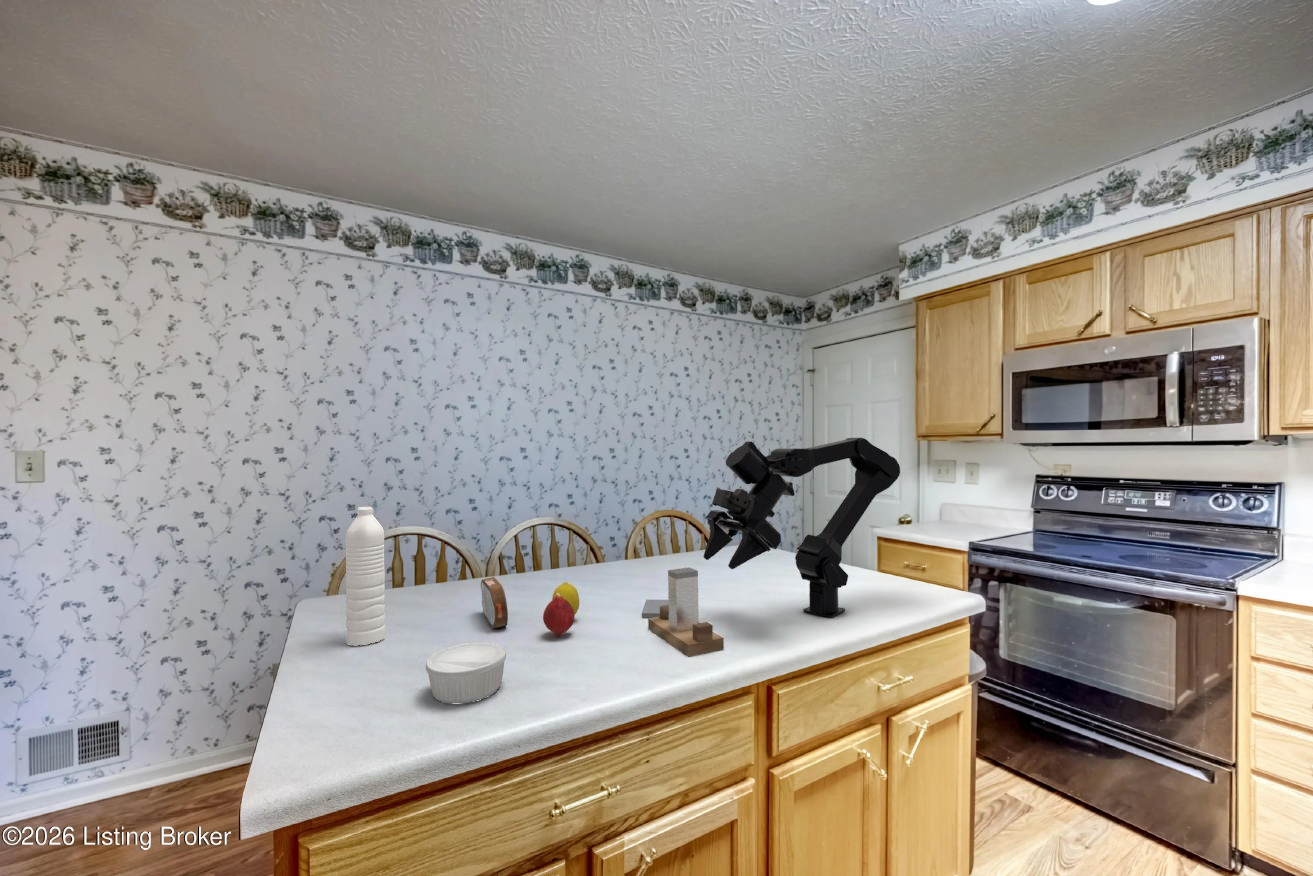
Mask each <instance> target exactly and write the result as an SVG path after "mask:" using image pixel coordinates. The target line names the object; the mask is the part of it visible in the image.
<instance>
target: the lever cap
mask: <svg viewBox="0 0 1313 876" xmlns="http://www.w3.org/2000/svg"><path fill="white" fill-rule="evenodd" d="M667 578H668V579H667V583H668V586H667V587H668V588H667V592H668V594H667V595H668V596H667V597H668V598H667V600H669V627H670V628H671V629H673V630H674V631H676V632H681V631H687V630H692V629H693V624H697V623H700V622H699V620H700V619H699V570H697V569H695V568H692V567H681V568H674V569H668V570H667Z"/></svg>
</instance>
